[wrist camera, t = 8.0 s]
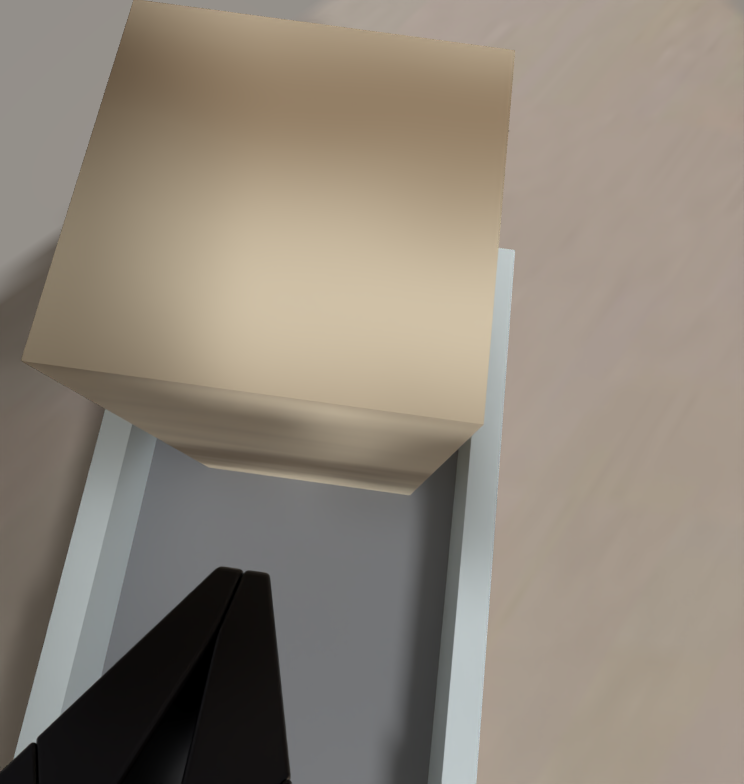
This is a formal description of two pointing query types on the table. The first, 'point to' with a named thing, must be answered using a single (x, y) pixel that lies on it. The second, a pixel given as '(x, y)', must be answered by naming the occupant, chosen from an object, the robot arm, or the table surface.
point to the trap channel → (302, 590)
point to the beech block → (285, 245)
